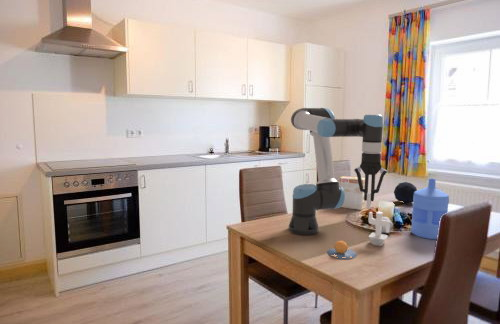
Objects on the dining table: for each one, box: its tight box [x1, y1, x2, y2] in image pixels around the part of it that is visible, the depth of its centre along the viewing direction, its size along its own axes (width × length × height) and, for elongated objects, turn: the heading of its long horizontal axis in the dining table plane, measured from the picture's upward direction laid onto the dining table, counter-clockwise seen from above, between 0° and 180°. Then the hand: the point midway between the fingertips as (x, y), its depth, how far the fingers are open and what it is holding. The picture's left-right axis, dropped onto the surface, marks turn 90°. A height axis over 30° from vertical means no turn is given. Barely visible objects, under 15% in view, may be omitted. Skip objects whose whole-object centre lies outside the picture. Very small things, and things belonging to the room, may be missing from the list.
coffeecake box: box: [339, 175, 366, 211], centre depth 223 cm, size 15×7×20 cm, turn 58°
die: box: [373, 216, 394, 234], centre depth 177 cm, size 8×9×10 cm
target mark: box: [327, 247, 357, 260], centre depth 150 cm, size 12×12×1 cm
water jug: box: [410, 178, 450, 240], centre depth 173 cm, size 16×16×28 cm
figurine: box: [368, 211, 391, 247], centre depth 161 cm, size 7×9×15 cm
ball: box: [334, 240, 349, 254], centre depth 150 cm, size 6×6×6 cm
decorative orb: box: [393, 181, 417, 205], centre depth 236 cm, size 14×15×15 cm
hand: (368, 208), depth 147 cm, fingers closed
